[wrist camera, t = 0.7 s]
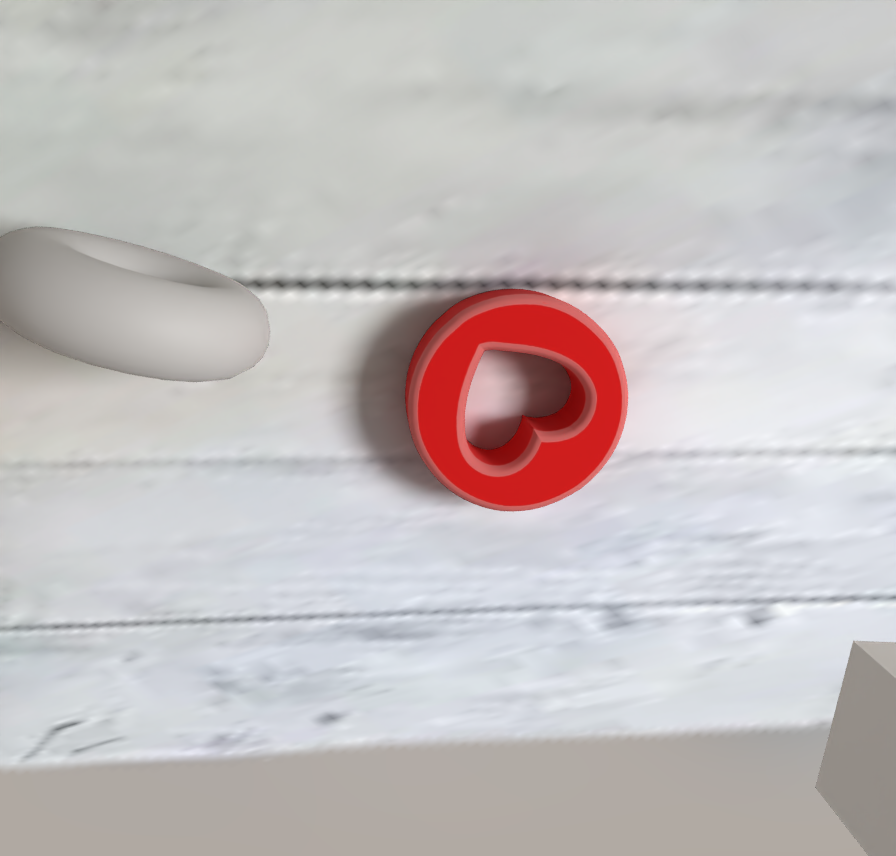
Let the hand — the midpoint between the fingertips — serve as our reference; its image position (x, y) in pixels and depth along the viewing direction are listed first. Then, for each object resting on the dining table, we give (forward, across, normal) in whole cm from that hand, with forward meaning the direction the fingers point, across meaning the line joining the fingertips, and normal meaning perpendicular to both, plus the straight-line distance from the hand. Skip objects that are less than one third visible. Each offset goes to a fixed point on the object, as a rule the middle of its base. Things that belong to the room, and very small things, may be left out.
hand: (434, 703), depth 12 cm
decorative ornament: (+25, +6, 0) cm, 26 cm away
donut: (+25, -10, +3) cm, 27 cm away
